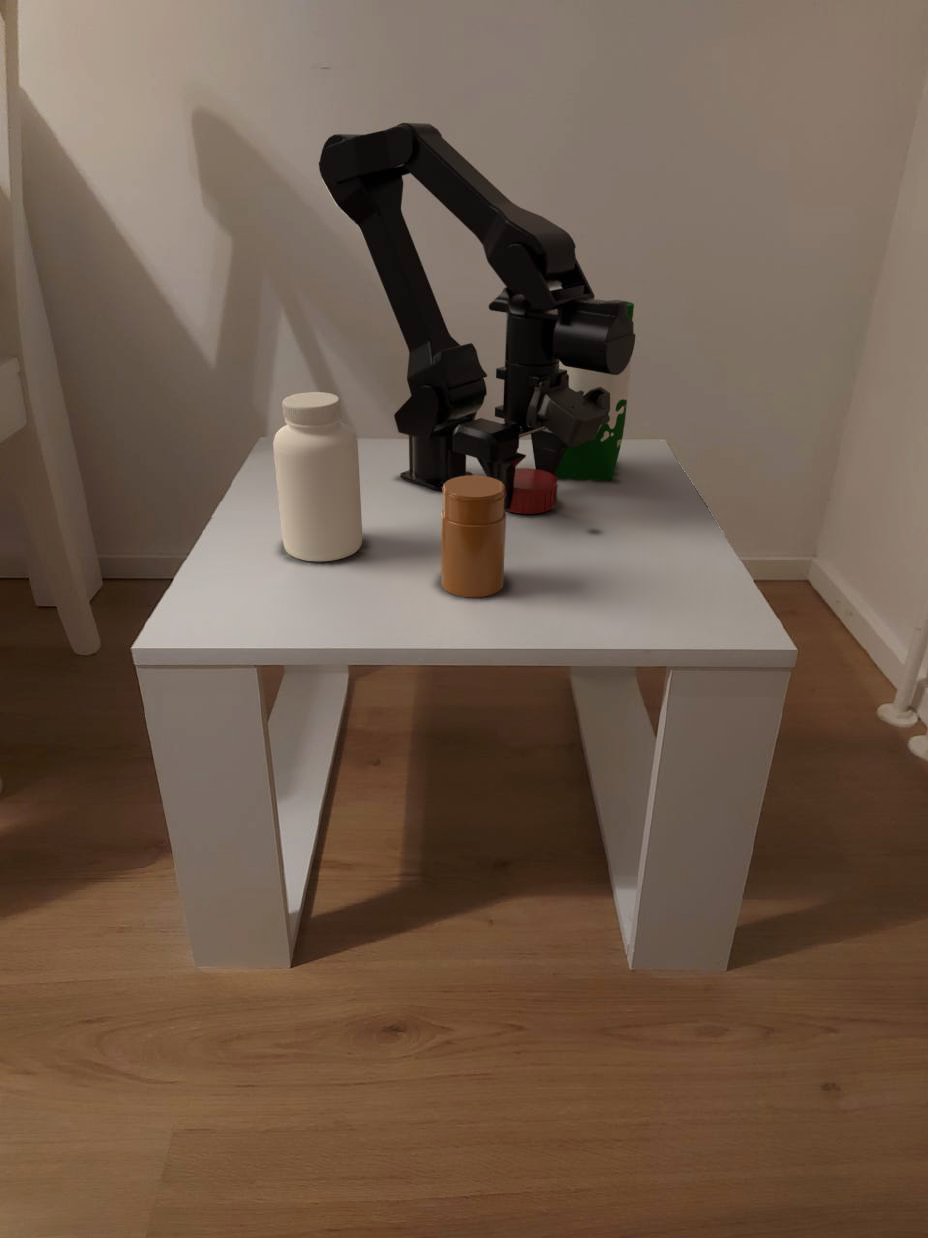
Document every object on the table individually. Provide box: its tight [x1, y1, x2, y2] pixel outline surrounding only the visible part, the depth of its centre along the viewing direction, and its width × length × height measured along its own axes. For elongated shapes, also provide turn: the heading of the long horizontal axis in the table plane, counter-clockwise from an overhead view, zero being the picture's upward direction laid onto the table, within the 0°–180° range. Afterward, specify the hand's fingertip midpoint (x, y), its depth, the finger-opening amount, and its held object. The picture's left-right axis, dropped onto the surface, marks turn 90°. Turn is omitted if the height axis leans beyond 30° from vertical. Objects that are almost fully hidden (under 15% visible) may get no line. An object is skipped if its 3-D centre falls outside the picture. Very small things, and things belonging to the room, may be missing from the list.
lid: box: [504, 467, 558, 515], centre depth 98 cm, size 7×7×3 cm
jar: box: [440, 474, 507, 599], centre depth 79 cm, size 6×6×10 cm
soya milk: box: [555, 299, 635, 482], centre depth 104 cm, size 9×9×20 cm
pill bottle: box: [272, 391, 363, 562], centre depth 84 cm, size 8×8×15 cm
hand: (524, 500), depth 98 cm, fingers closed on lid, 7 cm apart
